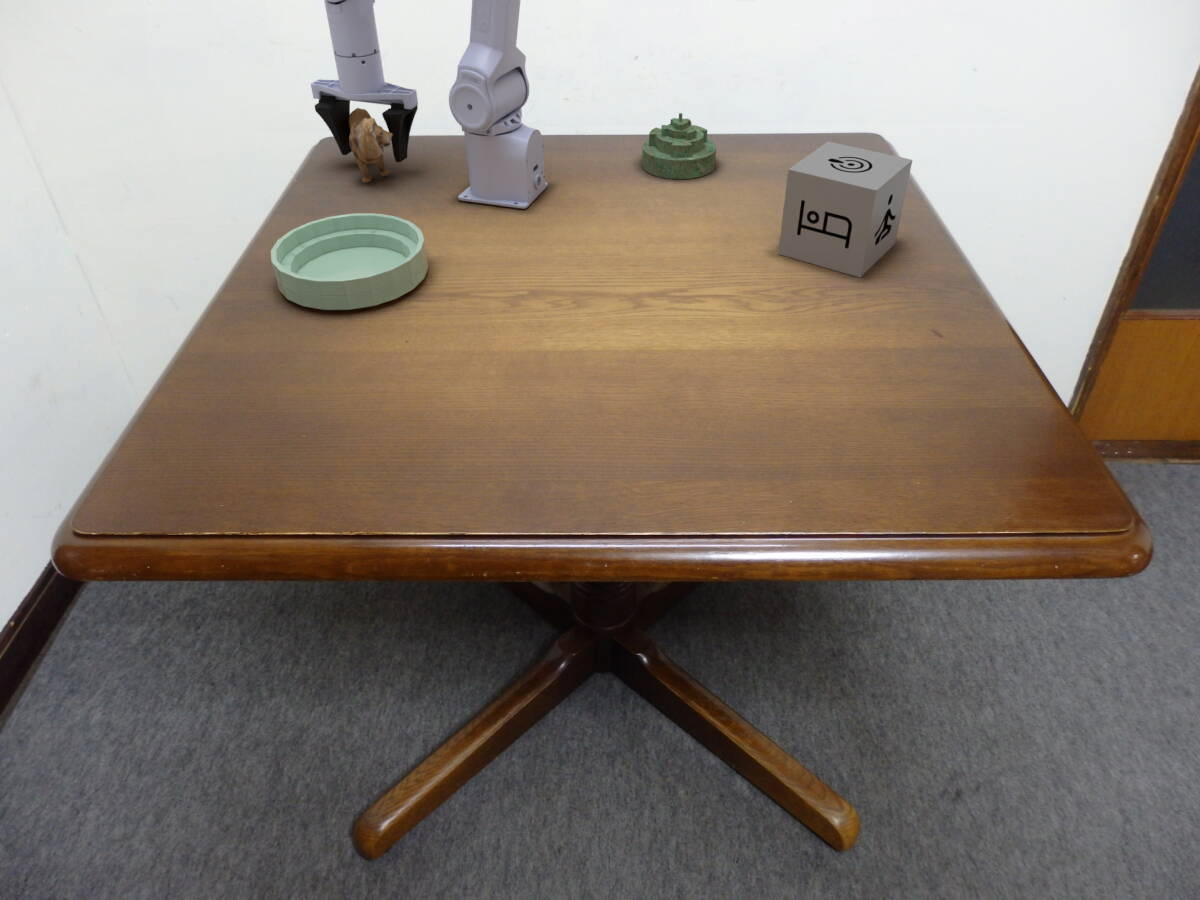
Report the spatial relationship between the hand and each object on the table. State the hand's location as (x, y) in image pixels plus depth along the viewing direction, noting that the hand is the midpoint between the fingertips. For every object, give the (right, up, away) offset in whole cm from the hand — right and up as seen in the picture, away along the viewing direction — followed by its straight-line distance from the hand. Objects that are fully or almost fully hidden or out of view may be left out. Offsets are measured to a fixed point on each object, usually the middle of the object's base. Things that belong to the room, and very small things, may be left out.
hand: (374, 156), depth 124 cm
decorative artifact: (+42, -1, +2) cm, 42 cm away
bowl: (+3, -21, -23) cm, 31 cm away
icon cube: (+58, -17, -19) cm, 63 cm away
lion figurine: (0, -1, +1) cm, 2 cm away
